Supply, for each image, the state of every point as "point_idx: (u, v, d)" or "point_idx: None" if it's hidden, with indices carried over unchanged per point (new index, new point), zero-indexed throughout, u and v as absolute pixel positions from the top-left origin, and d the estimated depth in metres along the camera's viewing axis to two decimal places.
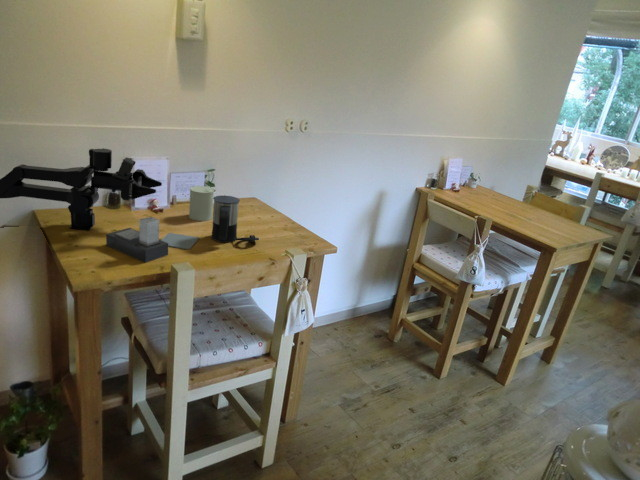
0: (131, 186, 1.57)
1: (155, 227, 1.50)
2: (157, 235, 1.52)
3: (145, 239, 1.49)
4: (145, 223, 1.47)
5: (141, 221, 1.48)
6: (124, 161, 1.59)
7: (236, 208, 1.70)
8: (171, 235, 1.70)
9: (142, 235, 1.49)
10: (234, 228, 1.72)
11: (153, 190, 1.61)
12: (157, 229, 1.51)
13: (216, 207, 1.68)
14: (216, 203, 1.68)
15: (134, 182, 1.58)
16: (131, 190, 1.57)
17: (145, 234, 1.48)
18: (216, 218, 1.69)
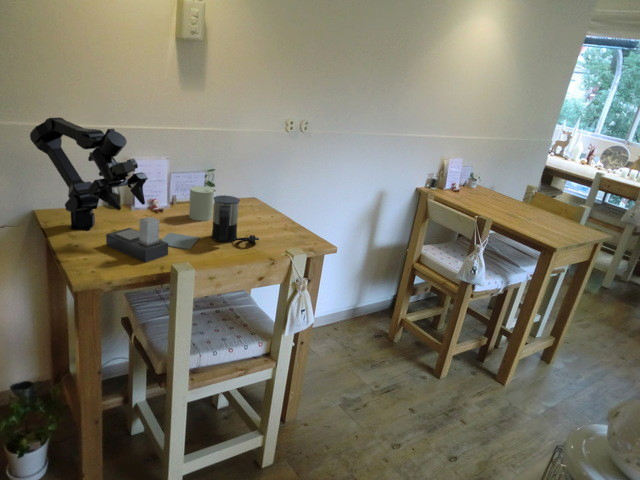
0: (101, 189, 1.45)
1: (155, 227, 1.50)
2: (157, 235, 1.52)
3: (145, 239, 1.49)
4: (145, 223, 1.47)
5: (141, 221, 1.48)
6: (121, 164, 1.47)
7: (236, 208, 1.70)
8: (171, 235, 1.70)
9: (142, 235, 1.49)
10: (234, 228, 1.72)
11: (118, 207, 1.48)
12: (157, 229, 1.51)
13: (216, 207, 1.68)
14: (216, 203, 1.68)
15: (107, 188, 1.46)
16: (99, 191, 1.46)
17: (145, 234, 1.48)
18: (217, 218, 1.69)
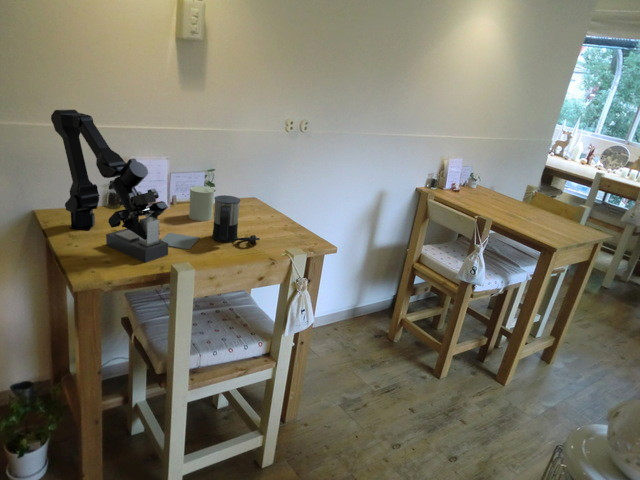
0: (128, 219, 1.45)
1: (155, 227, 1.50)
2: (157, 235, 1.52)
3: None
4: (145, 223, 1.47)
5: (141, 221, 1.48)
6: (142, 195, 1.45)
7: (237, 208, 1.70)
8: (171, 235, 1.70)
9: None
10: (235, 228, 1.72)
11: (144, 237, 1.48)
12: (157, 229, 1.51)
13: (217, 207, 1.68)
14: (217, 203, 1.68)
15: (134, 218, 1.46)
16: (126, 221, 1.46)
17: None
18: (217, 217, 1.69)
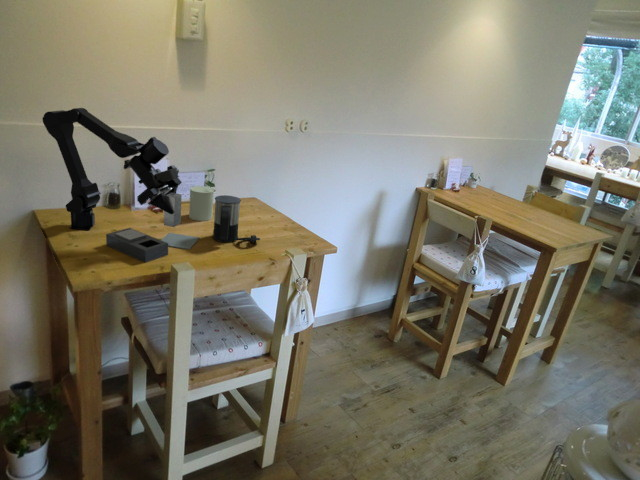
0: (156, 195, 1.51)
1: (179, 202, 1.58)
2: (180, 209, 1.59)
3: (172, 214, 1.56)
4: (171, 199, 1.54)
5: (166, 197, 1.55)
6: (168, 171, 1.52)
7: (237, 208, 1.70)
8: (171, 235, 1.70)
9: None
10: (235, 228, 1.72)
11: (171, 211, 1.55)
12: (180, 204, 1.59)
13: (217, 207, 1.69)
14: (217, 203, 1.68)
15: (162, 194, 1.52)
16: (154, 198, 1.52)
17: None
18: (218, 217, 1.69)
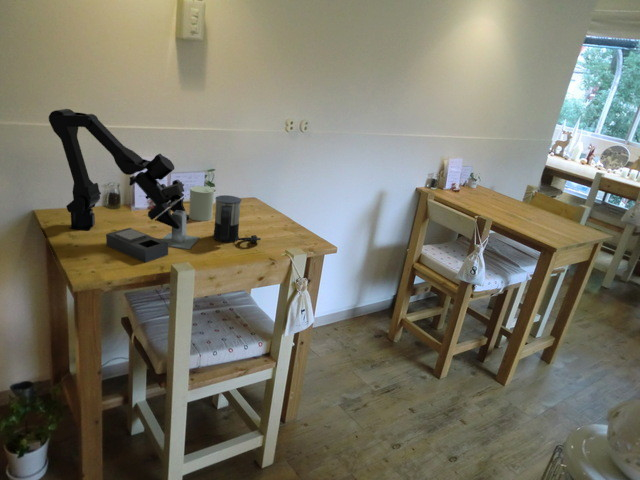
0: (163, 212, 1.55)
1: (185, 218, 1.65)
2: (185, 226, 1.67)
3: (180, 231, 1.63)
4: (179, 216, 1.61)
5: (174, 215, 1.61)
6: (176, 186, 1.58)
7: (238, 208, 1.70)
8: (171, 235, 1.70)
9: None
10: (236, 228, 1.73)
11: (177, 226, 1.60)
12: (185, 220, 1.66)
13: (218, 207, 1.69)
14: (218, 203, 1.68)
15: (168, 210, 1.56)
16: (160, 214, 1.56)
17: (179, 226, 1.63)
18: (218, 217, 1.70)
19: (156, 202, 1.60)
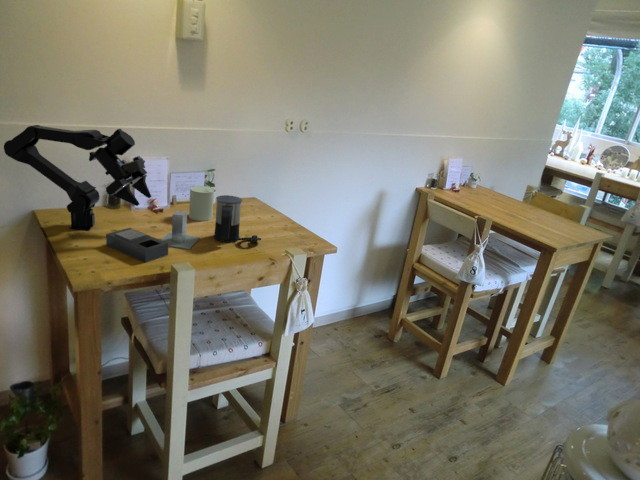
0: (122, 188, 1.54)
1: (185, 219, 1.65)
2: (186, 226, 1.67)
3: (180, 231, 1.63)
4: (179, 216, 1.61)
5: (174, 215, 1.61)
6: (135, 162, 1.56)
7: (238, 208, 1.70)
8: (171, 235, 1.70)
9: (175, 228, 1.63)
10: (236, 228, 1.73)
11: (136, 203, 1.59)
12: (186, 220, 1.66)
13: (218, 207, 1.69)
14: (219, 203, 1.68)
15: (127, 186, 1.55)
16: (119, 190, 1.54)
17: (179, 226, 1.63)
18: (219, 217, 1.70)
19: (116, 178, 1.58)
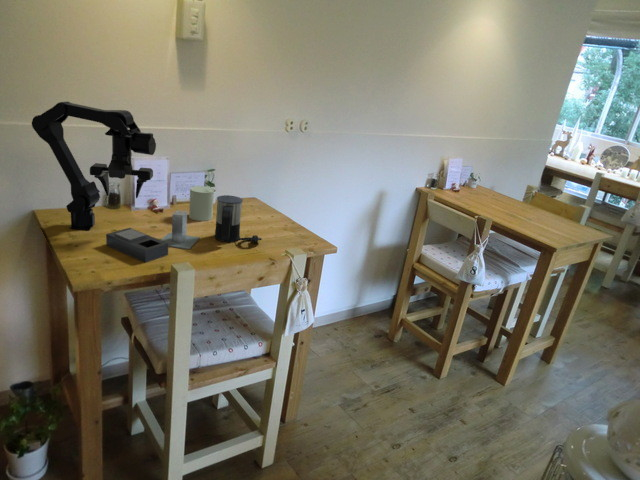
0: None
1: (185, 219, 1.65)
2: (186, 226, 1.67)
3: (180, 231, 1.63)
4: (179, 216, 1.61)
5: (174, 215, 1.61)
6: (108, 169, 1.52)
7: (239, 208, 1.70)
8: (171, 235, 1.70)
9: (175, 228, 1.63)
10: (237, 228, 1.73)
11: None
12: (186, 220, 1.66)
13: (219, 207, 1.69)
14: (219, 203, 1.69)
15: (98, 178, 1.57)
16: None
17: (179, 226, 1.63)
18: (219, 217, 1.70)
19: None
